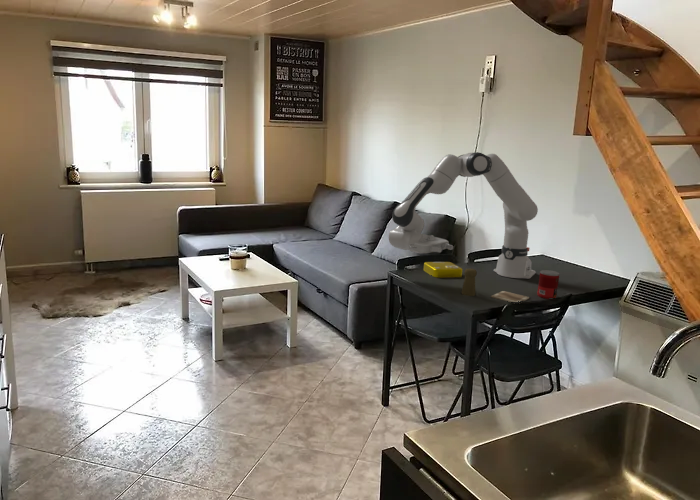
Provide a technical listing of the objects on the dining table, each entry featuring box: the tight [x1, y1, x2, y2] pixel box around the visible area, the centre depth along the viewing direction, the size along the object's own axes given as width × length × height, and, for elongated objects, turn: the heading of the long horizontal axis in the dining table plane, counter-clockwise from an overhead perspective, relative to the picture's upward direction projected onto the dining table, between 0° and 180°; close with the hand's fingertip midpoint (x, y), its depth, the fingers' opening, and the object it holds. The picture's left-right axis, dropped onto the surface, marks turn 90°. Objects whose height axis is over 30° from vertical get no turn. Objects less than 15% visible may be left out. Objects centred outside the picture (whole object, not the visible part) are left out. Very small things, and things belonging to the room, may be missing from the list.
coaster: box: [490, 290, 530, 303], centre depth 245 cm, size 12×12×1 cm
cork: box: [461, 267, 478, 297], centre depth 246 cm, size 6×6×11 cm
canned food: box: [536, 269, 560, 300], centre depth 249 cm, size 8×8×11 cm
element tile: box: [423, 261, 464, 279], centre depth 280 cm, size 15×15×5 cm
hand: (446, 249), depth 251 cm, fingers open, 8 cm apart
